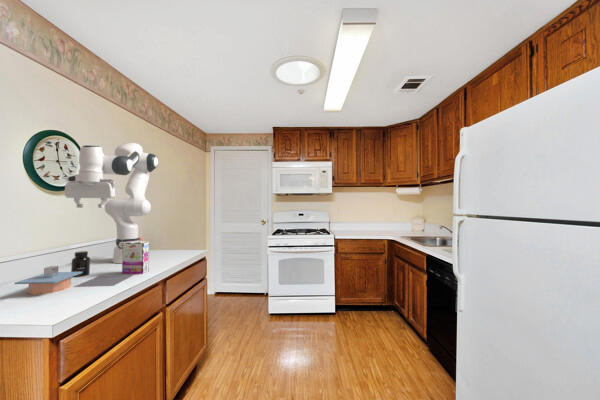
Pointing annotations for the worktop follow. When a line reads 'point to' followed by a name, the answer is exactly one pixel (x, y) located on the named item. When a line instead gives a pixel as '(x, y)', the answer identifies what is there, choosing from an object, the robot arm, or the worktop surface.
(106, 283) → the mat
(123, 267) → the candy bar box
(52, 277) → the cover sheet
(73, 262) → the supplement bottle
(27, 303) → the worktop surface
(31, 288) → the bowl
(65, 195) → the robot arm
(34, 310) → the worktop surface
